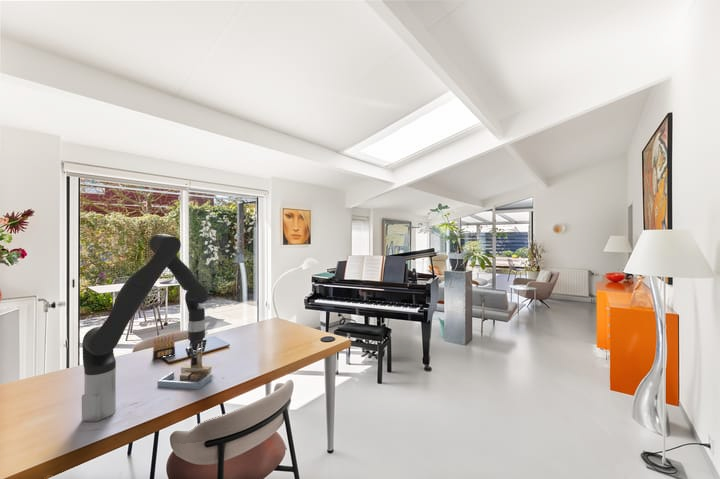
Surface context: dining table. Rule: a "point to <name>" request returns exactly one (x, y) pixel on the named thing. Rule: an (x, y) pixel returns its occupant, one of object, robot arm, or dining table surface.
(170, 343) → the ammunition clip
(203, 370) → the wooden base with post
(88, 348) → the robot arm
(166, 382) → the tray
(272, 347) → the dining table surface
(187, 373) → the block
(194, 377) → the block
